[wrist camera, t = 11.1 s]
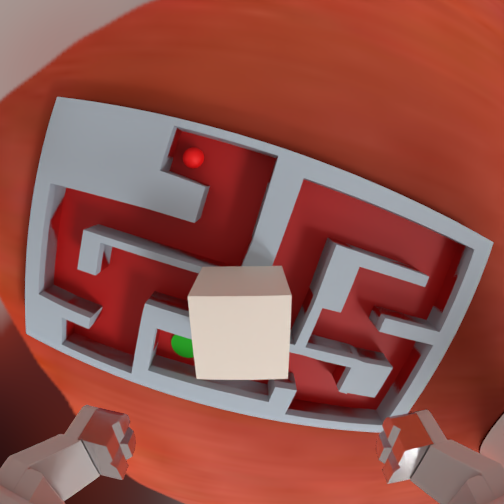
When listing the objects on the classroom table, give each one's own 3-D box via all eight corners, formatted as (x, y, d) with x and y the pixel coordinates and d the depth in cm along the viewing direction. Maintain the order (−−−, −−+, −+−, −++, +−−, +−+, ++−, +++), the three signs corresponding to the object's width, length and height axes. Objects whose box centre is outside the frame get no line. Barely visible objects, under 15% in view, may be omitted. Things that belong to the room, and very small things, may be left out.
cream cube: (281, 265, 20) (291, 295, 15) (280, 335, 21) (287, 378, 16) (202, 266, 20) (187, 296, 15) (207, 336, 21) (196, 378, 16)
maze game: (471, 234, 22) (493, 242, 19) (383, 413, 27) (393, 433, 24) (77, 103, 20) (57, 96, 17) (43, 319, 24) (26, 333, 21)
